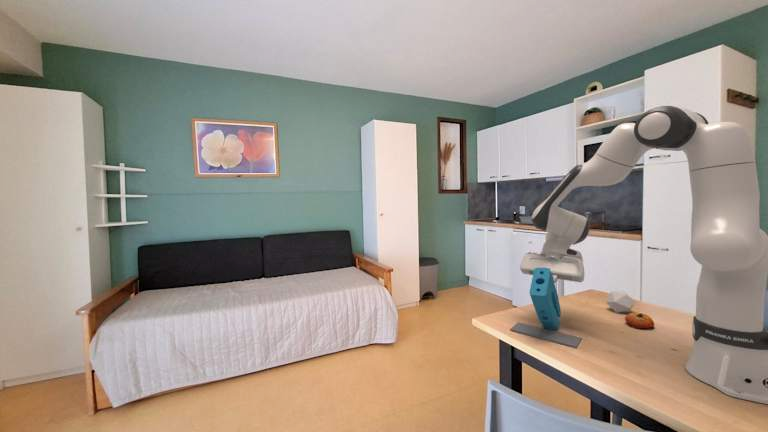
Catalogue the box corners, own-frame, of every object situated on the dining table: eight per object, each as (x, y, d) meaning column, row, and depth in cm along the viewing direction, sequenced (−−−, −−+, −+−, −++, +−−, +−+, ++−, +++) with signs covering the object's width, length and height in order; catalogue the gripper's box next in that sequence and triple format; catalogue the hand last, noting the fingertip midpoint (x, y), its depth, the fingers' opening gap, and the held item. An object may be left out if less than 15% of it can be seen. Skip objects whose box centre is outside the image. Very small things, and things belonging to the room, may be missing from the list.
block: (546, 304, 115) (534, 267, 106) (561, 305, 112) (550, 268, 103) (541, 331, 107) (528, 294, 98) (557, 334, 104) (545, 296, 95)
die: (635, 318, 116) (642, 296, 118) (613, 306, 117) (620, 284, 120) (619, 318, 123) (626, 297, 126) (599, 307, 125) (606, 286, 127)
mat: (581, 339, 99) (581, 337, 99) (576, 348, 93) (576, 346, 93) (517, 323, 112) (517, 322, 112) (510, 330, 106) (510, 329, 106)
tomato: (620, 321, 108) (628, 304, 110) (622, 329, 112) (630, 313, 114) (648, 332, 102) (656, 314, 104) (650, 340, 106) (657, 322, 108)
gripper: (523, 246, 117) (513, 276, 111) (586, 252, 104) (579, 286, 97) (526, 256, 121) (517, 285, 114) (587, 263, 107) (581, 297, 100)
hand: (546, 286), depth 105 cm, fingers closed, pressing on block
